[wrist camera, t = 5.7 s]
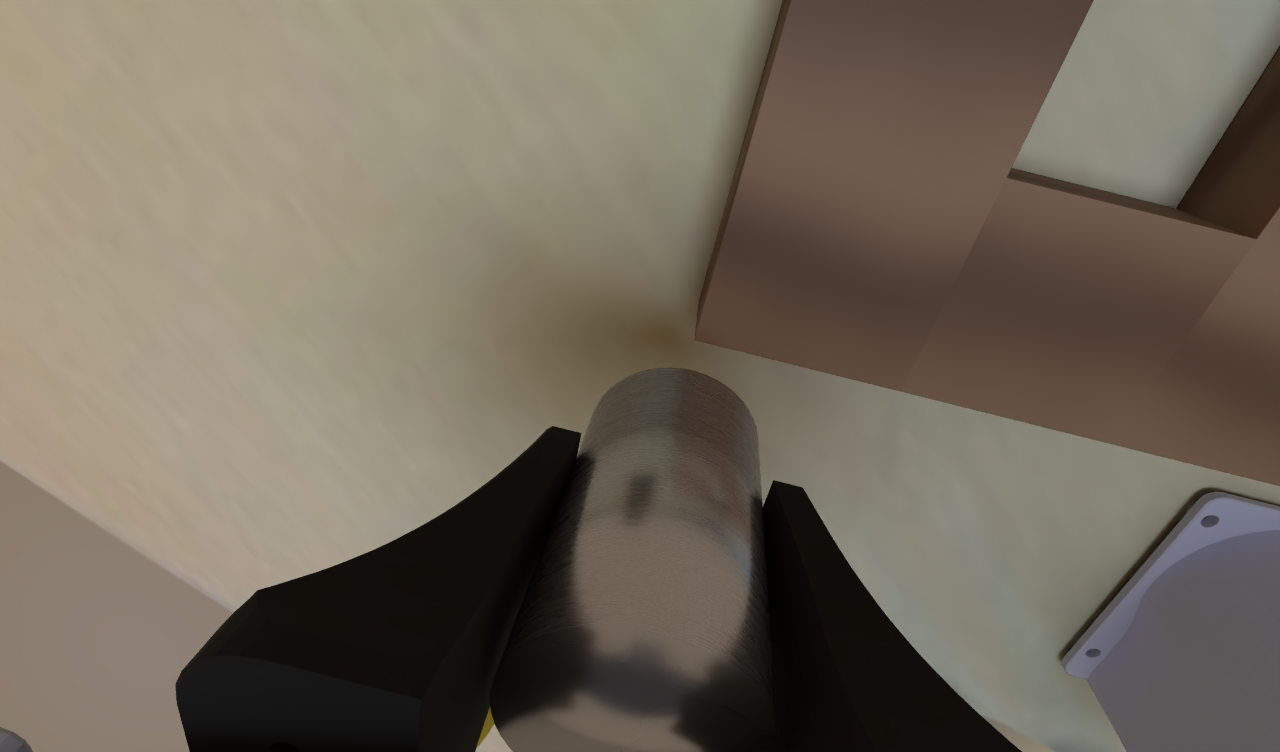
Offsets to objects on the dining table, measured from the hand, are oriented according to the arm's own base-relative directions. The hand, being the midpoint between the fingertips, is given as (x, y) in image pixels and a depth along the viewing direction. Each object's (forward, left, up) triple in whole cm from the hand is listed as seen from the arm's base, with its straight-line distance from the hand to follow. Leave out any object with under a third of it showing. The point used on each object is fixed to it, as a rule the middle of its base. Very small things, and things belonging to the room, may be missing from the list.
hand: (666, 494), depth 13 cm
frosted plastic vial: (0, 0, -2) cm, 2 cm away
